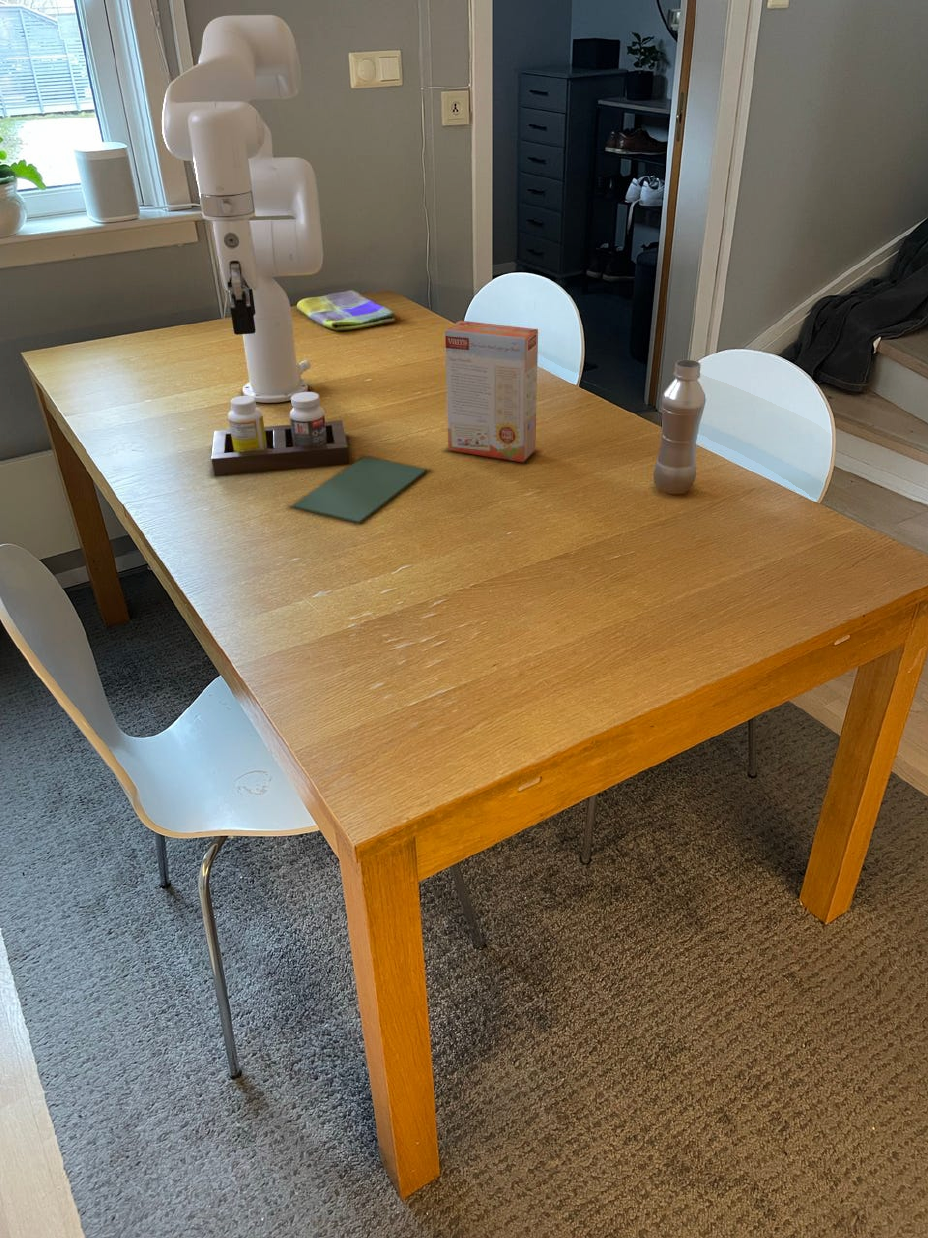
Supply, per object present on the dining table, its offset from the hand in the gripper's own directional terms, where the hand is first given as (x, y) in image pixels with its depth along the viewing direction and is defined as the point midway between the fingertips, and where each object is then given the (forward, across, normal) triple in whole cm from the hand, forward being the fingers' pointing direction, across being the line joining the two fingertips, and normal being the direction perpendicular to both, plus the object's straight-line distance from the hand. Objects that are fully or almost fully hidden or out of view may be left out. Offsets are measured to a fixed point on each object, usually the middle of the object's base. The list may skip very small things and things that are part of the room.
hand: (245, 324), depth 144 cm
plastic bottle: (+23, -26, -62) cm, 71 cm away
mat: (+23, -15, -15) cm, 31 cm away
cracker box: (+23, -5, -38) cm, 45 cm away
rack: (+23, +1, -3) cm, 23 cm away
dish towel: (+23, +82, -20) cm, 87 cm away
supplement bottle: (+23, +1, +2) cm, 23 cm away
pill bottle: (+23, +1, -8) cm, 24 cm away
